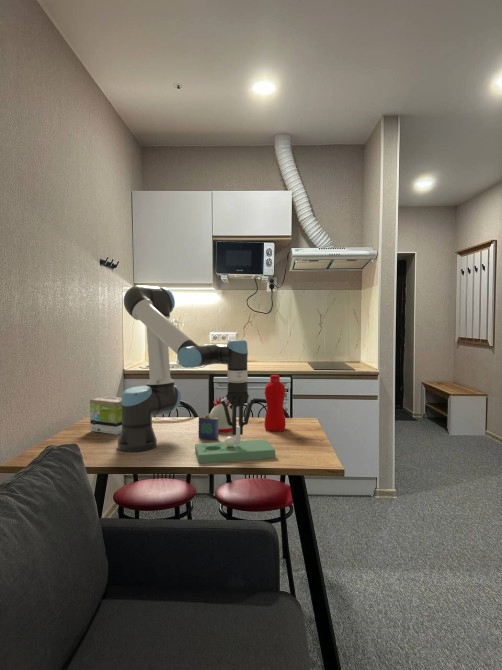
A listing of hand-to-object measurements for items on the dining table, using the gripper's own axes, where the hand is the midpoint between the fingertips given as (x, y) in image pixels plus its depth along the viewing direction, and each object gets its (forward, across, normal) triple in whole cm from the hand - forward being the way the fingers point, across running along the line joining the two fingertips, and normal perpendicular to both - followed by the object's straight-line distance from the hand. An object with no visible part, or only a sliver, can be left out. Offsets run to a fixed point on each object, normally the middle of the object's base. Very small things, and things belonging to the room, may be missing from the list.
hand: (237, 443), depth 166 cm
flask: (+5, -8, +24) cm, 26 cm away
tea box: (+5, -50, +47) cm, 69 cm away
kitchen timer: (+5, 0, +39) cm, 39 cm away
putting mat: (+4, -1, 0) cm, 4 cm away
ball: (-1, -3, 0) cm, 3 cm away
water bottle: (+4, +24, +32) cm, 41 cm away
